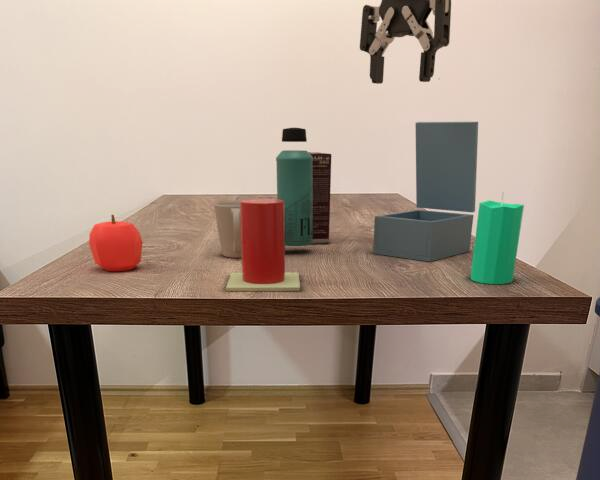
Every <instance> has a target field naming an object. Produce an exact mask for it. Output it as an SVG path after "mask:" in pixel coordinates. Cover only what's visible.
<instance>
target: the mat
mask: <svg viewBox="0 0 600 480" xmlns="http://www.w3.org/2000/svg"><path fill="white" fill-rule="evenodd" d="M225 291H226V292H300V291H301V282H300V275H299V272H298V271H297V272H292V271H291V272H290V271H288V272H286V271H285V280H284V281H282V282H279V283H273V284H253V283H247V282H244V281H243V277H242V272H231V273H230V276H229V277H228V281H227V283H226V287H225Z"/></svg>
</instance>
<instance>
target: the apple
mask: <svg viewBox="0 0 600 480" xmlns="http://www.w3.org/2000/svg"><path fill="white" fill-rule="evenodd" d="M110 216H111V217H110V218H111V221H105V222H103V221H102V222H100V223H96V224H94V225H93V227H92V229H91V230H90V233H89V238H88V246H89V249H90V252H91V255H92V257H93V260H94V263H95V264H96V265H97V266H99V267H100V268H102V269H104V270H105V271H107V272H126V271H131V270H132V269H134V268H135V267H136V266H138V265H139V264H140V263H141V261H142V253H143V239H142V236H141V233H140V231H139V230H138V229H137V227H136V226H135V225H134V224H133V223H132V222H128V221H116V218H115V215H114V214H111V215H110Z"/></svg>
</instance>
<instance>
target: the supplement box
mask: <svg viewBox="0 0 600 480" xmlns="http://www.w3.org/2000/svg"><path fill="white" fill-rule="evenodd" d="M308 152H309V153H310V155H311V156H312V157H313V161H312V178H313V180H314V181H313V227H312V229H313V234H312V239H313V240H312V244H311V245H321V244H323V245H324V244H329V243H330V220H331V219H330V218H331V217H330V215H331V187H332V186H331V185H332V184H331V183H332V182H331V181H332V180H331V178H332V153H327V152H315V151H308Z"/></svg>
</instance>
